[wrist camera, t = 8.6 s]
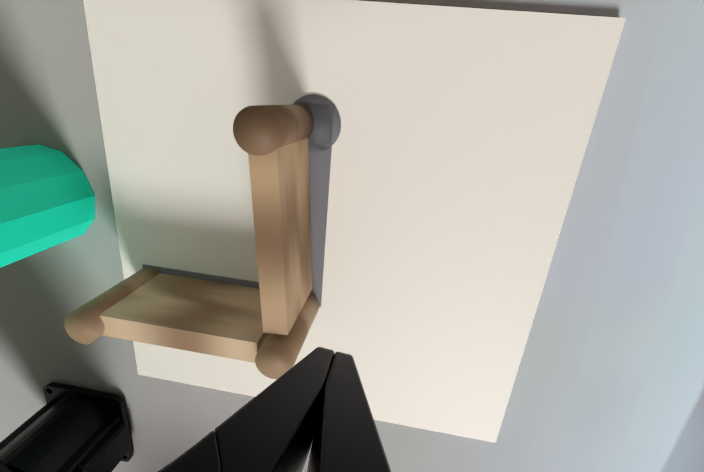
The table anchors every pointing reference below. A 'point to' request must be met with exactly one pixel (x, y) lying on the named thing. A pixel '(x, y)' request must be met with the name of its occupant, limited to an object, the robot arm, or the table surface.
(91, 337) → the fence fixed
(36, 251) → the candle
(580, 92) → the board
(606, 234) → the table surface
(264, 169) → the fence gate
